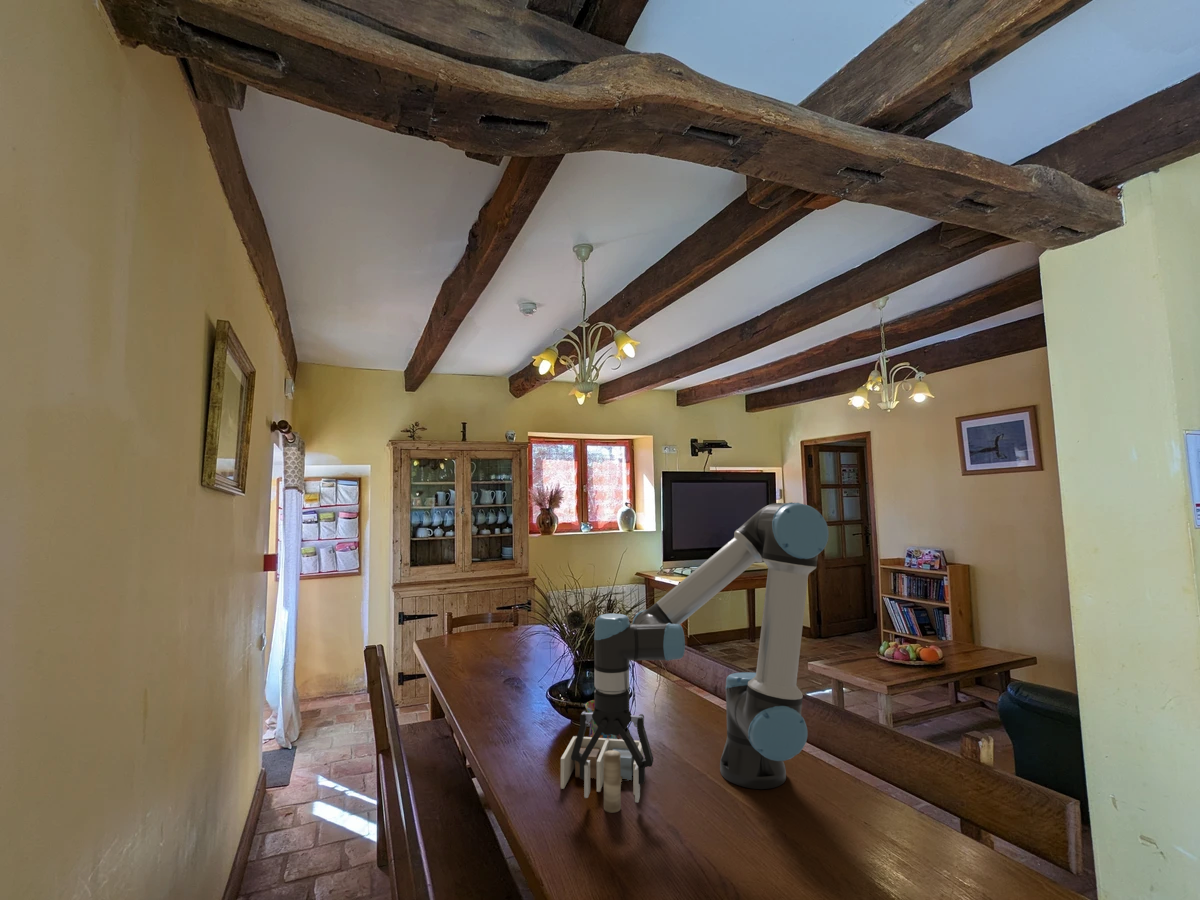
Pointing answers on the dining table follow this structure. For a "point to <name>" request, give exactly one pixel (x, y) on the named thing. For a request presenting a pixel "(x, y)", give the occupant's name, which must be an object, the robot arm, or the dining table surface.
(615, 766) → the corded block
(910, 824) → the dining table surface
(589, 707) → the mug
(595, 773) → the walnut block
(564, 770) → the lane rack
